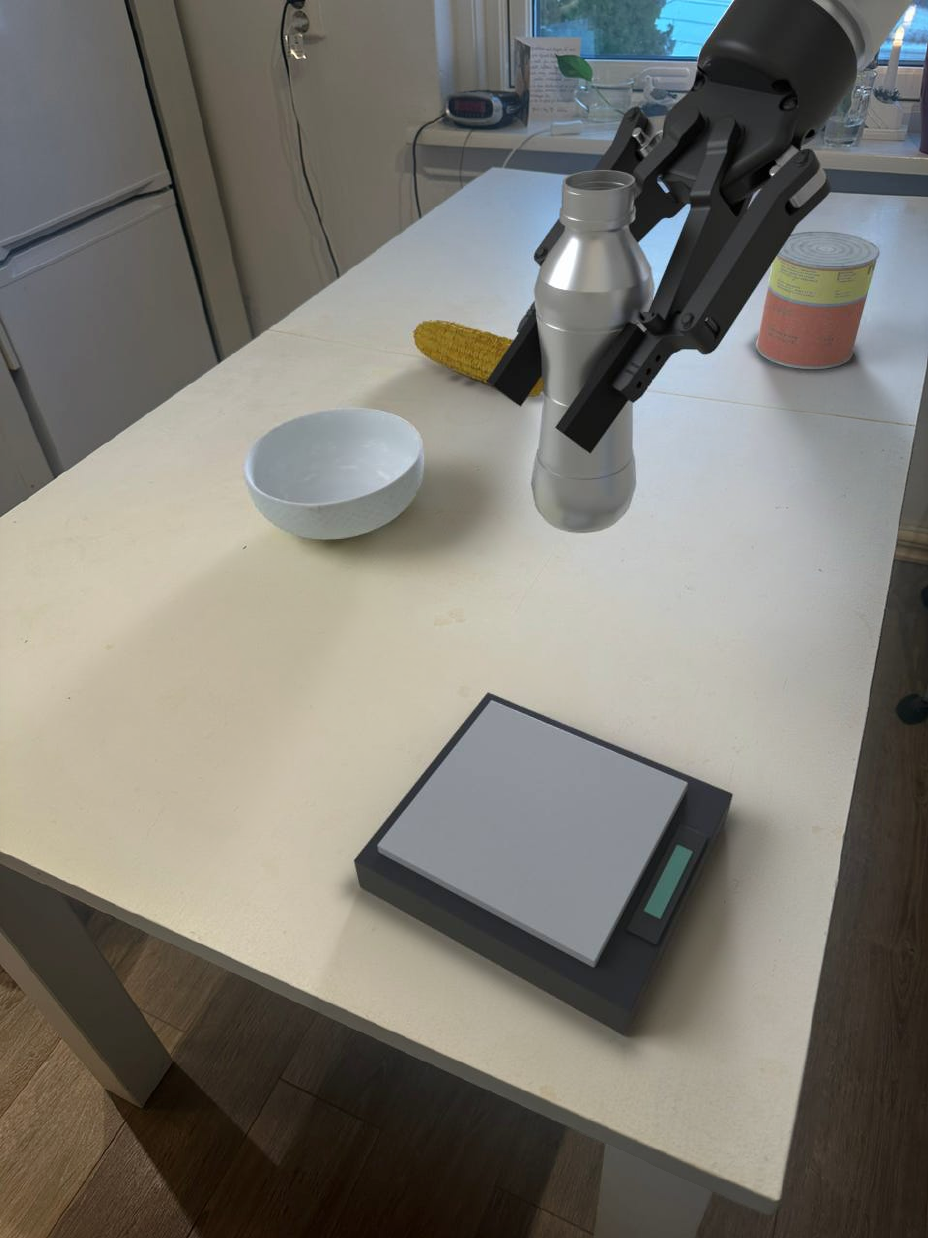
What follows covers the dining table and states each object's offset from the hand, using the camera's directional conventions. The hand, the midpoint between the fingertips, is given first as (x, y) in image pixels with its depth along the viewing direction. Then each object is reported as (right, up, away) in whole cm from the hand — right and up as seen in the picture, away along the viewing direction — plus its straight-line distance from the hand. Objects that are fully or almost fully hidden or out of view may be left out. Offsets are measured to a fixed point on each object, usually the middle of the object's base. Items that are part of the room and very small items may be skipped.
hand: (537, 415), depth 49 cm
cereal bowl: (-16, -1, +36) cm, 40 cm away
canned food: (+38, +22, +58) cm, 72 cm away
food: (-2, +18, +56) cm, 59 cm away
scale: (+1, -27, +7) cm, 27 cm away
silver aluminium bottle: (+3, -5, +7) cm, 9 cm away
